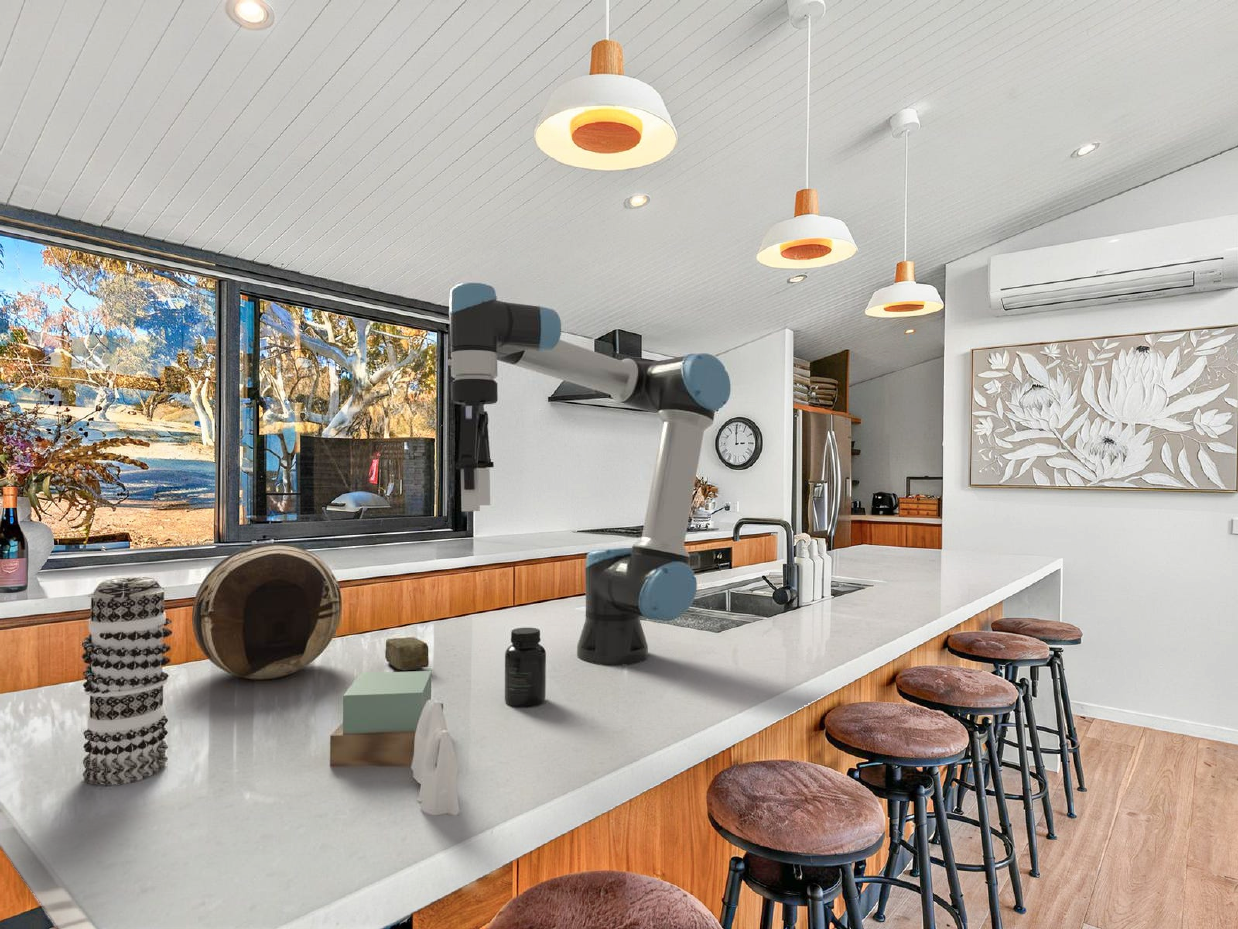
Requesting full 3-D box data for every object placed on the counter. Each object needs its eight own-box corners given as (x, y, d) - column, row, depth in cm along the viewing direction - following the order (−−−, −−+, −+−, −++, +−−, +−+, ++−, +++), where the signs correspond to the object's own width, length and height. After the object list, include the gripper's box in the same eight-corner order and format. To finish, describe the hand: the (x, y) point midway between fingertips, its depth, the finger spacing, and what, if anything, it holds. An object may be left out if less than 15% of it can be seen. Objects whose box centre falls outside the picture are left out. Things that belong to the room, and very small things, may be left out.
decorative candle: (187, 768, 90) (190, 575, 90) (122, 801, 81) (124, 587, 81) (130, 761, 92) (133, 573, 92) (60, 792, 83) (63, 584, 83)
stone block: (400, 673, 129) (399, 646, 129) (383, 663, 138) (383, 638, 139) (431, 668, 132) (430, 642, 132) (412, 659, 142) (412, 634, 142)
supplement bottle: (518, 693, 121) (518, 624, 121) (552, 698, 118) (553, 628, 118) (496, 705, 115) (497, 632, 115) (532, 711, 112) (533, 636, 112)
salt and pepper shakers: (410, 781, 87) (410, 692, 87) (444, 775, 88) (444, 688, 88) (423, 826, 76) (423, 725, 76) (461, 819, 77) (462, 720, 77)
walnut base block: (442, 737, 102) (443, 703, 102) (423, 773, 90) (424, 734, 90) (360, 738, 101) (360, 704, 101) (329, 774, 89) (330, 735, 89)
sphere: (191, 708, 113) (193, 554, 113) (190, 670, 134) (192, 540, 134) (353, 683, 126) (354, 546, 126) (329, 652, 147) (330, 534, 147)
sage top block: (431, 705, 101) (431, 670, 101) (422, 730, 91) (422, 692, 91) (359, 708, 100) (360, 673, 100) (342, 734, 90) (343, 695, 90)
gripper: (463, 387, 126) (465, 503, 127) (436, 370, 102) (439, 514, 102) (504, 387, 127) (506, 502, 127) (487, 369, 102) (490, 513, 102)
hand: (476, 508), depth 114 cm, fingers open, 13 cm apart
